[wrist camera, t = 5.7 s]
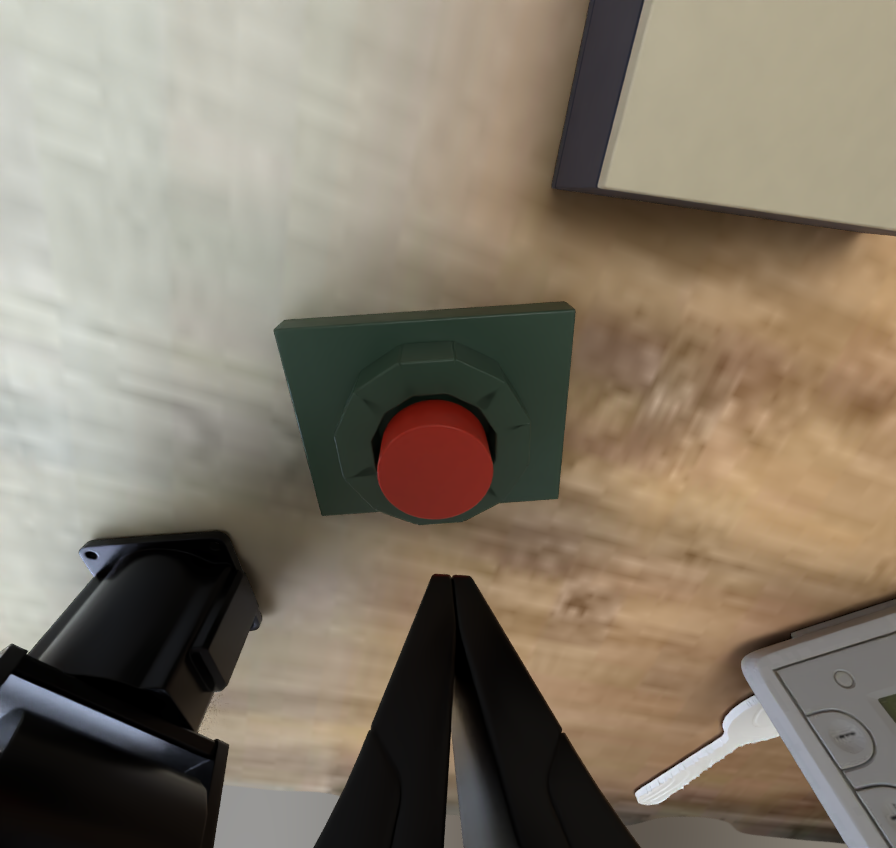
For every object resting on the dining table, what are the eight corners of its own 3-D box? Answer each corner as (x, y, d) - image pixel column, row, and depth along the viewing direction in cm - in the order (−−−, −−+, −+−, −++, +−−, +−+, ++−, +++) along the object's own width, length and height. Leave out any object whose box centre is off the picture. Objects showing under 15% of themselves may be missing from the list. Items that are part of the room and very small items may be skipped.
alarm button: (388, 491, 15) (384, 524, 14) (374, 402, 14) (368, 429, 12) (487, 483, 15) (493, 516, 14) (485, 395, 14) (493, 420, 12)
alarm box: (327, 498, 19) (311, 548, 16) (283, 319, 15) (252, 347, 12) (551, 482, 19) (571, 529, 16) (565, 300, 15) (596, 324, 12)
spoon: (615, 793, 34) (617, 801, 34) (784, 671, 27) (790, 680, 26) (666, 802, 36) (669, 810, 35) (840, 688, 28) (847, 697, 28)
